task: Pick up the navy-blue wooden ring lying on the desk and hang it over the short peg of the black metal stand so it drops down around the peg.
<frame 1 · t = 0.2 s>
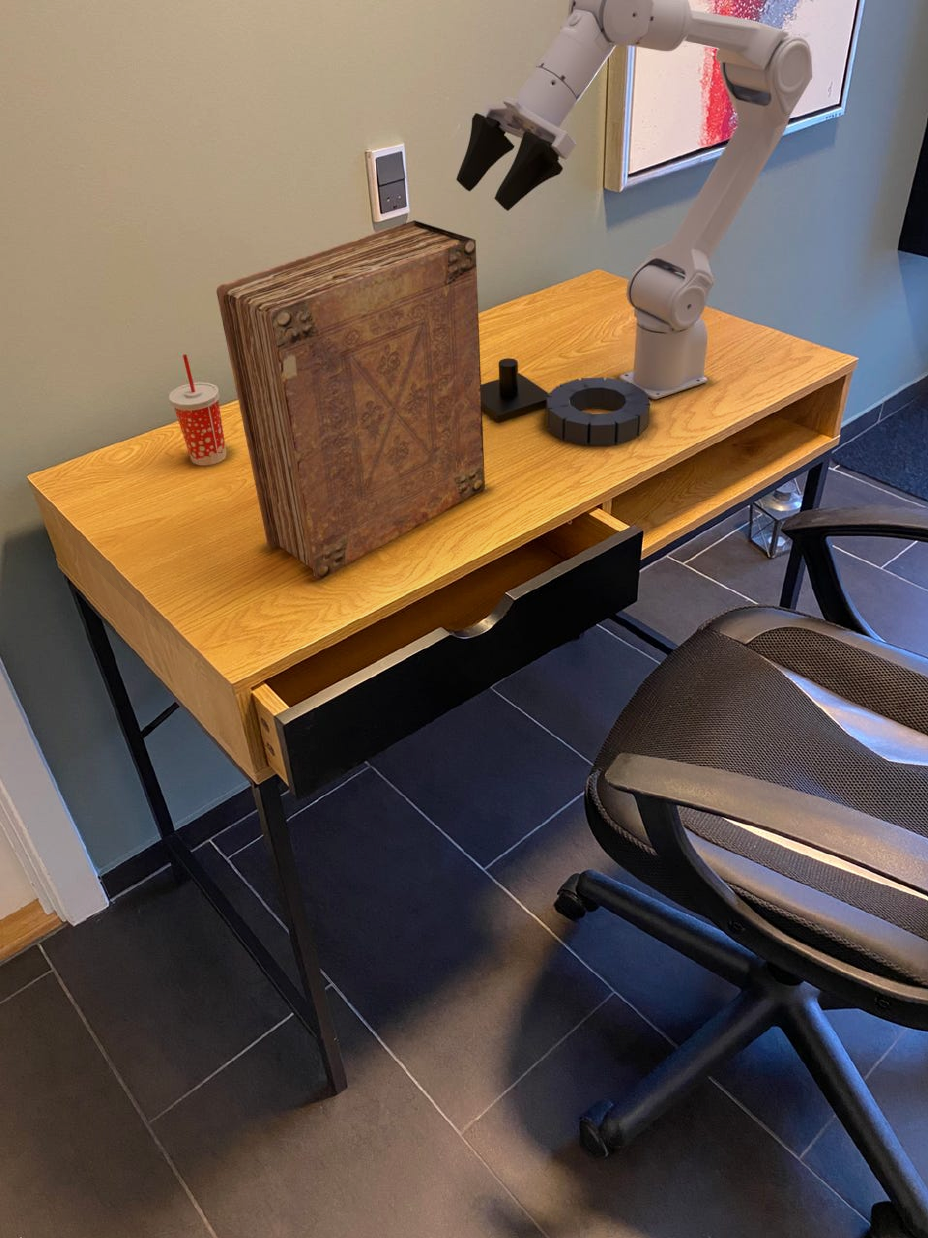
hand: (481, 194, 110), 30 cm above the table, tool tilted 45°, fingers open, 7 cm apart
hoop: (596, 420, 132), on the table
book: (380, 519, 116), on the table
beverage cup: (209, 457, 130), on the table
peg stand: (509, 400, 137), on the table
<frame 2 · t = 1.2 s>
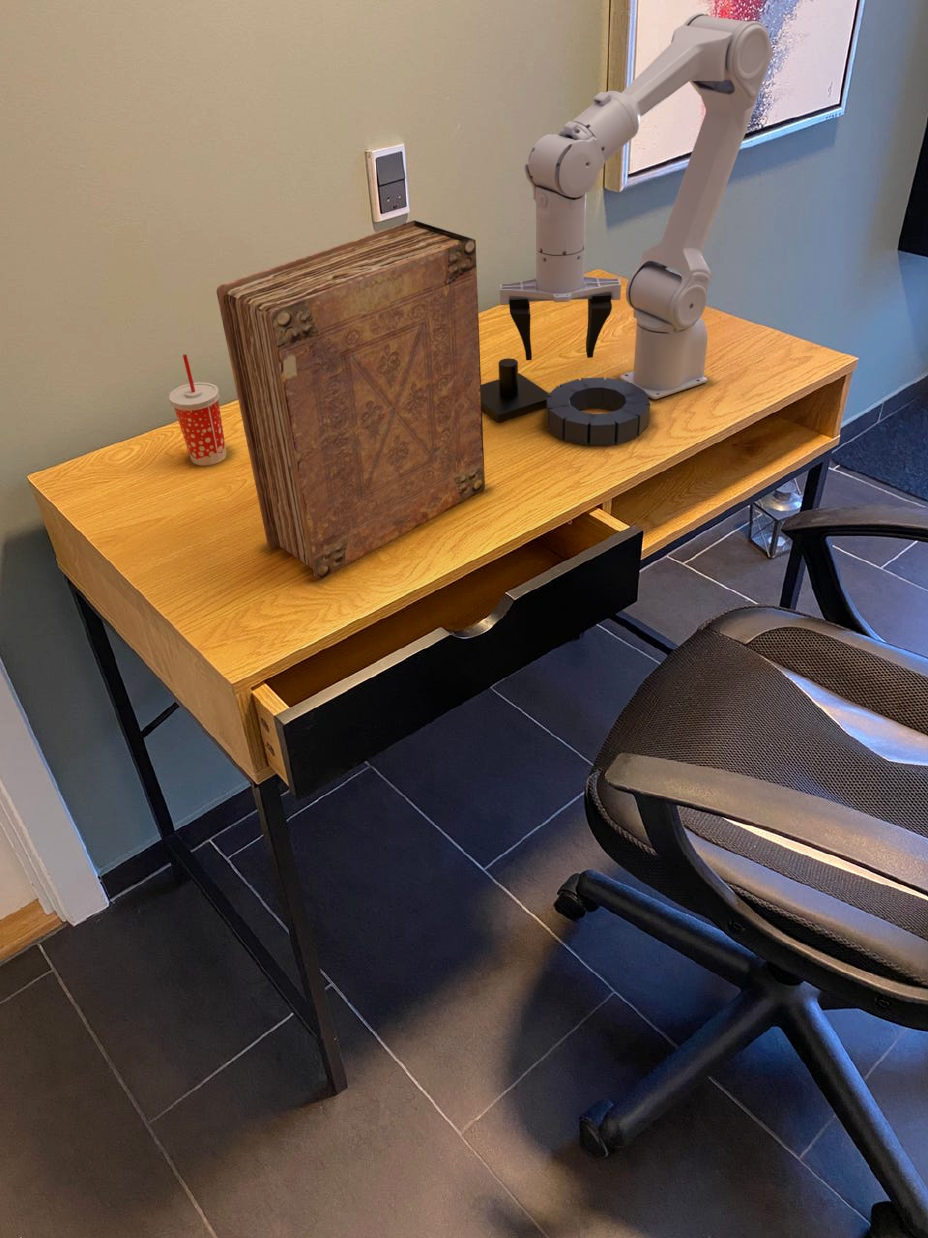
hand: (558, 355, 126), 9 cm above the table, tool pointing down, fingers open, 7 cm apart
nothing on the table moved.
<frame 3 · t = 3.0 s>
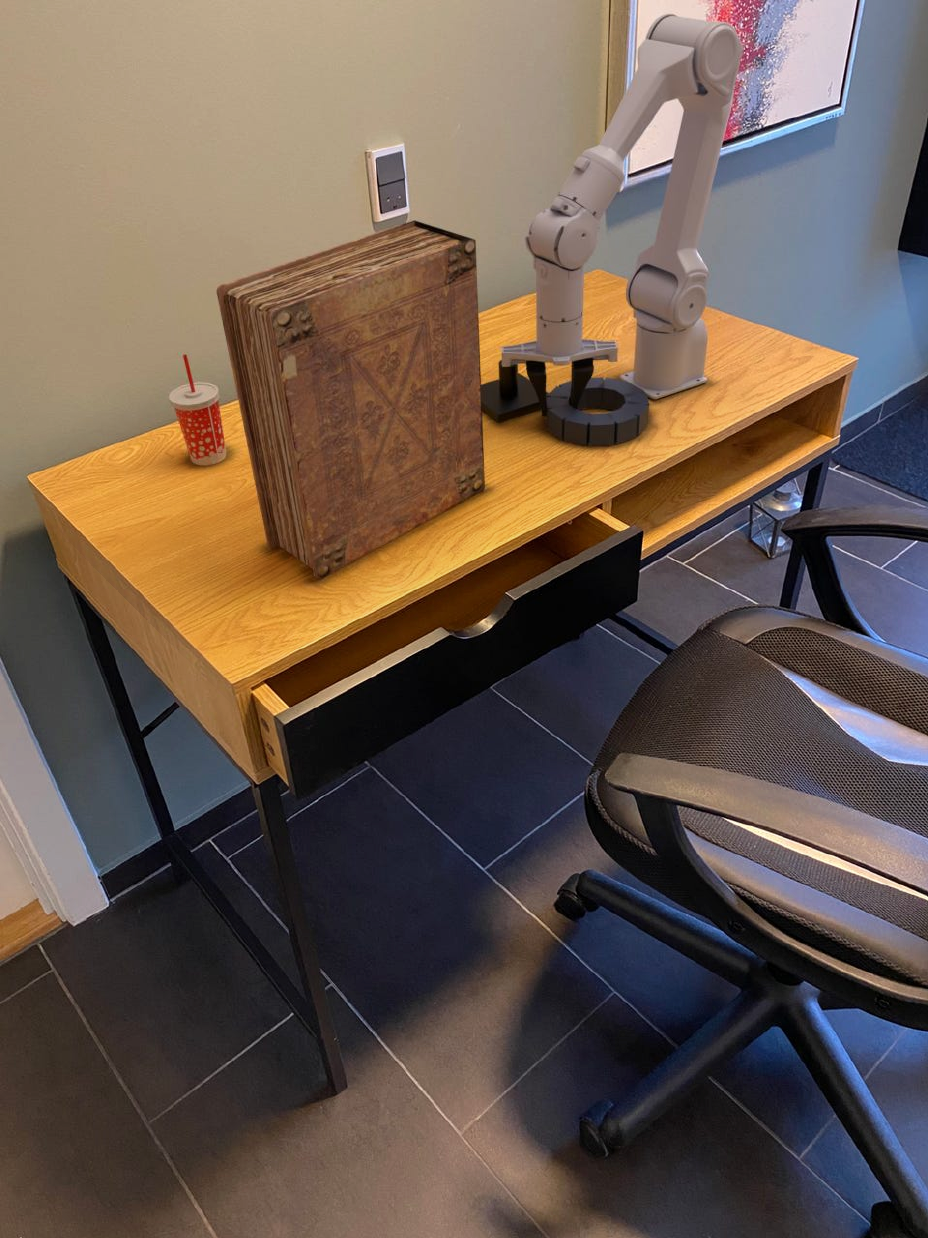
hand: (558, 412, 131), 1 cm above the table, tool pointing down, fingers closed on hoop, 3 cm apart
hoop: (596, 420, 132), on the table, touching gripper
everything else where it was.
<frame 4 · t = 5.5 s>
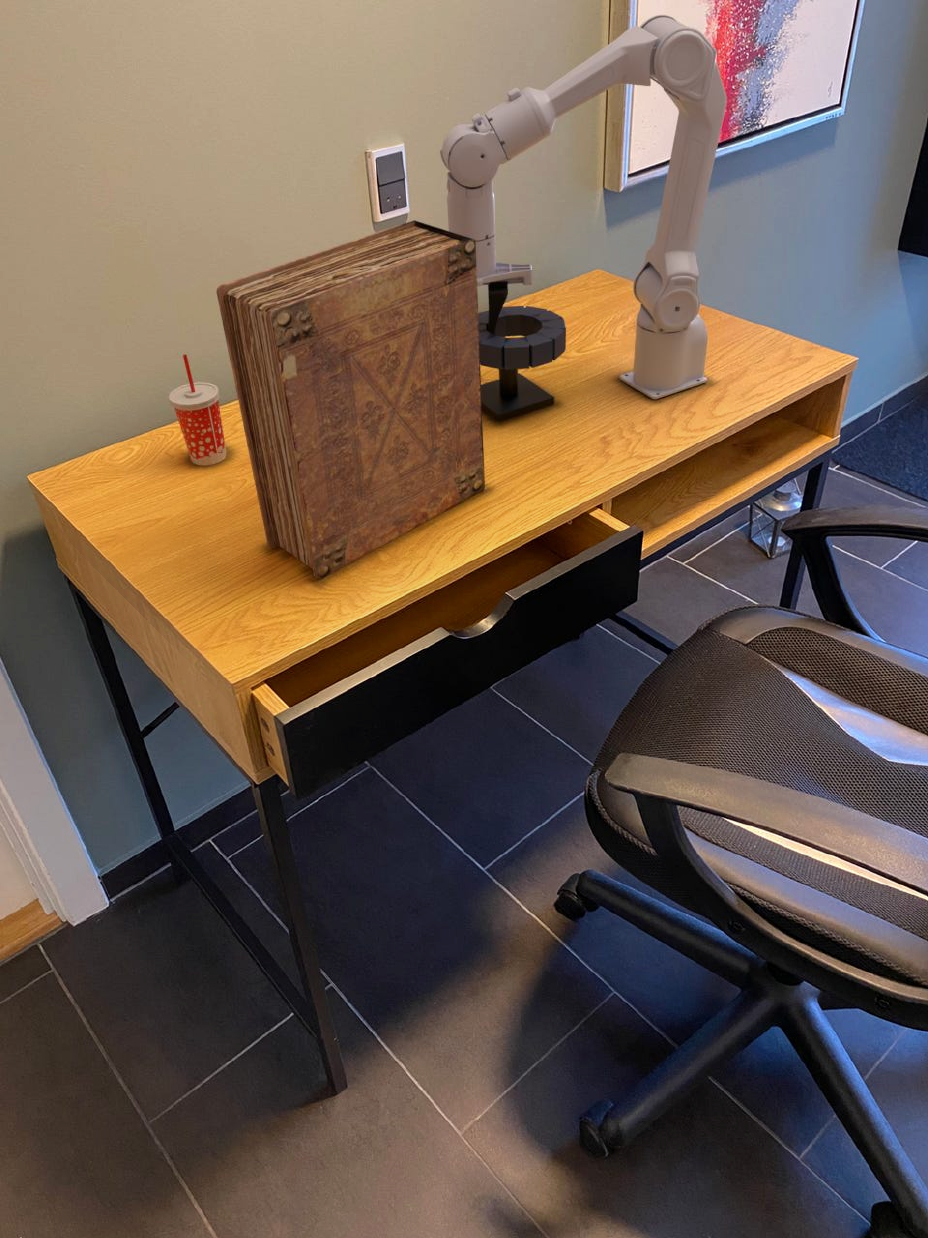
hand: (476, 339, 131), 9 cm above the table, tool pointing down, fingers closed on hoop, 3 cm apart
hoop: (514, 347, 132), point 8 cm above the table, touching gripper
everything else where it was.
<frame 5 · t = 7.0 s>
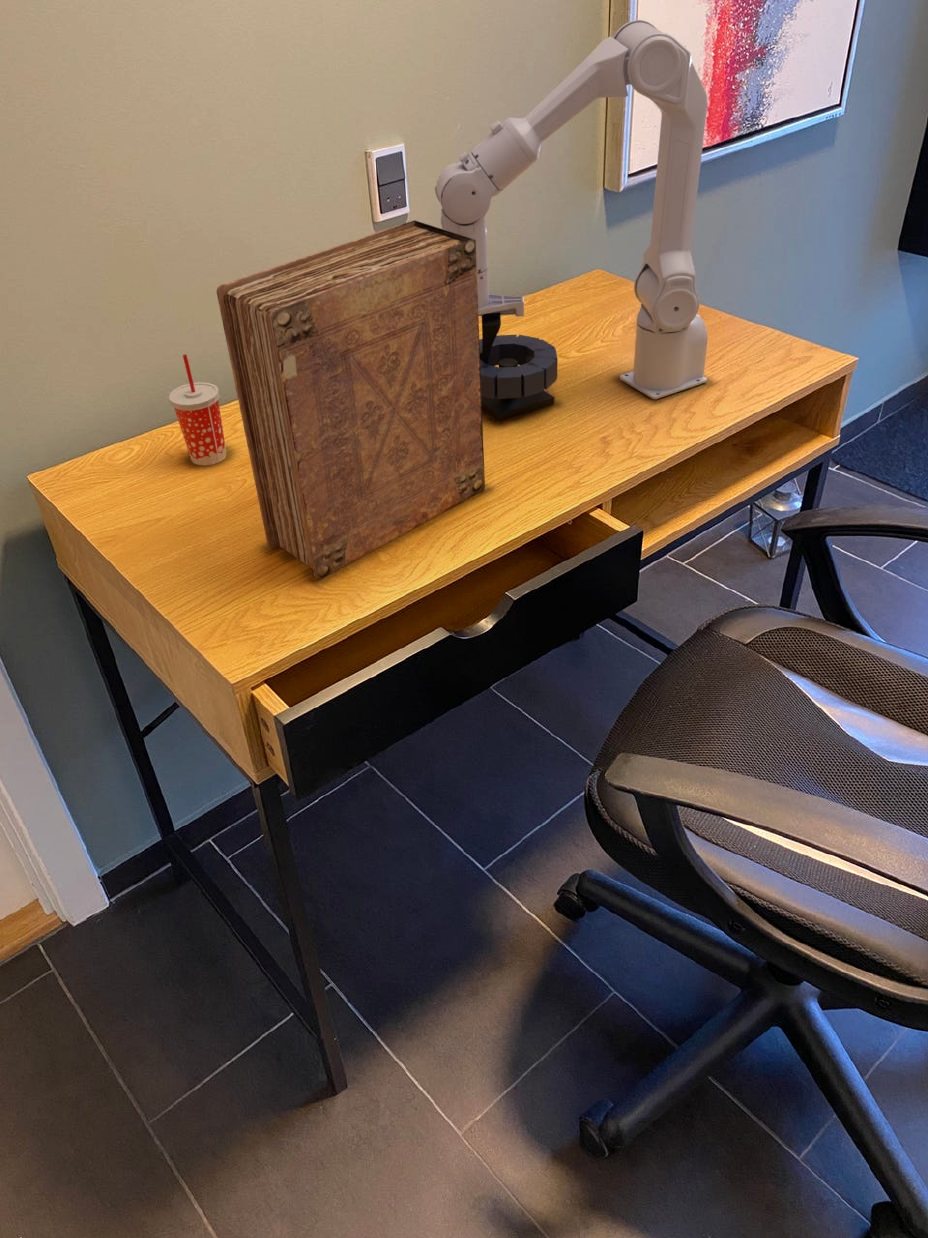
hand: (470, 367, 134), 5 cm above the table, tool pointing down, fingers closed on hoop, 3 cm apart
hoop: (507, 375, 135), point 4 cm above the table, touching gripper
everything else where it was.
when the fingers open (3 cm above the table, at t = 8.0 s): hoop stays where it is, resting on peg stand.
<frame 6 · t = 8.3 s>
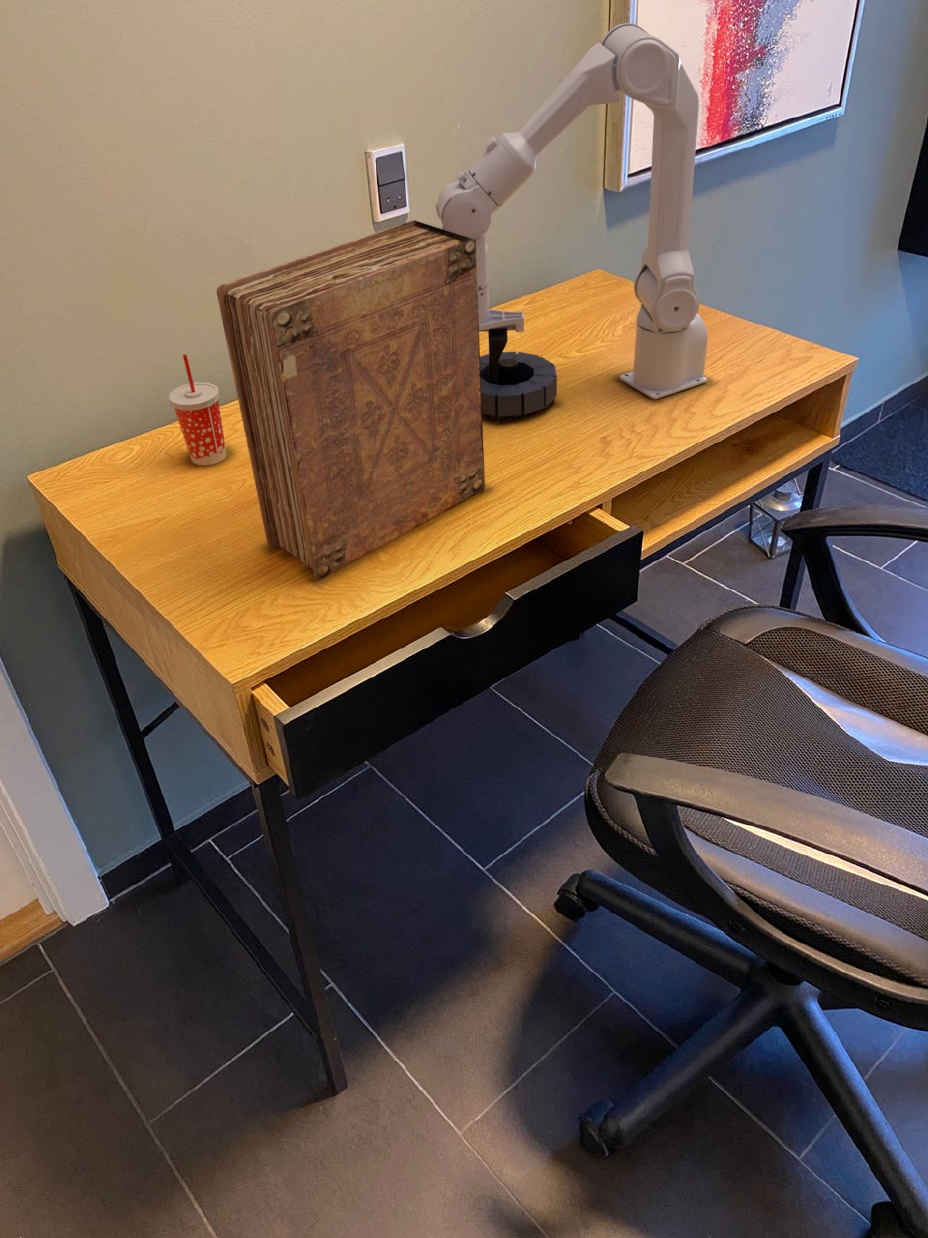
hand: (470, 382, 136), 3 cm above the table, tool pointing down, fingers open, 5 cm apart
hoop: (507, 392, 137), point 1 cm above the table, touching peg stand
everything else where it was.
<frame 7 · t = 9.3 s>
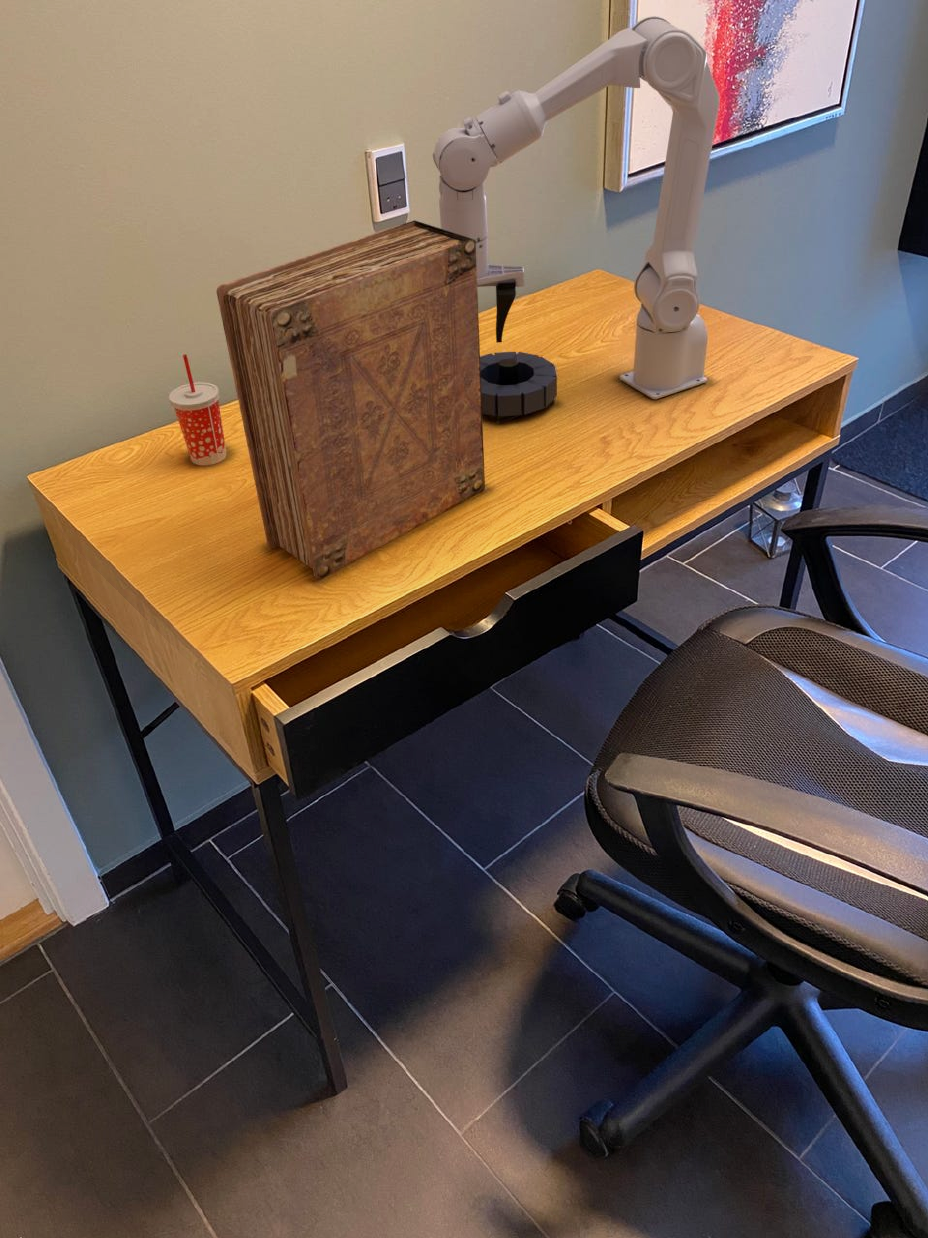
hand: (469, 340, 132), 9 cm above the table, tool pointing down, fingers open, 7 cm apart
nothing on the table moved.
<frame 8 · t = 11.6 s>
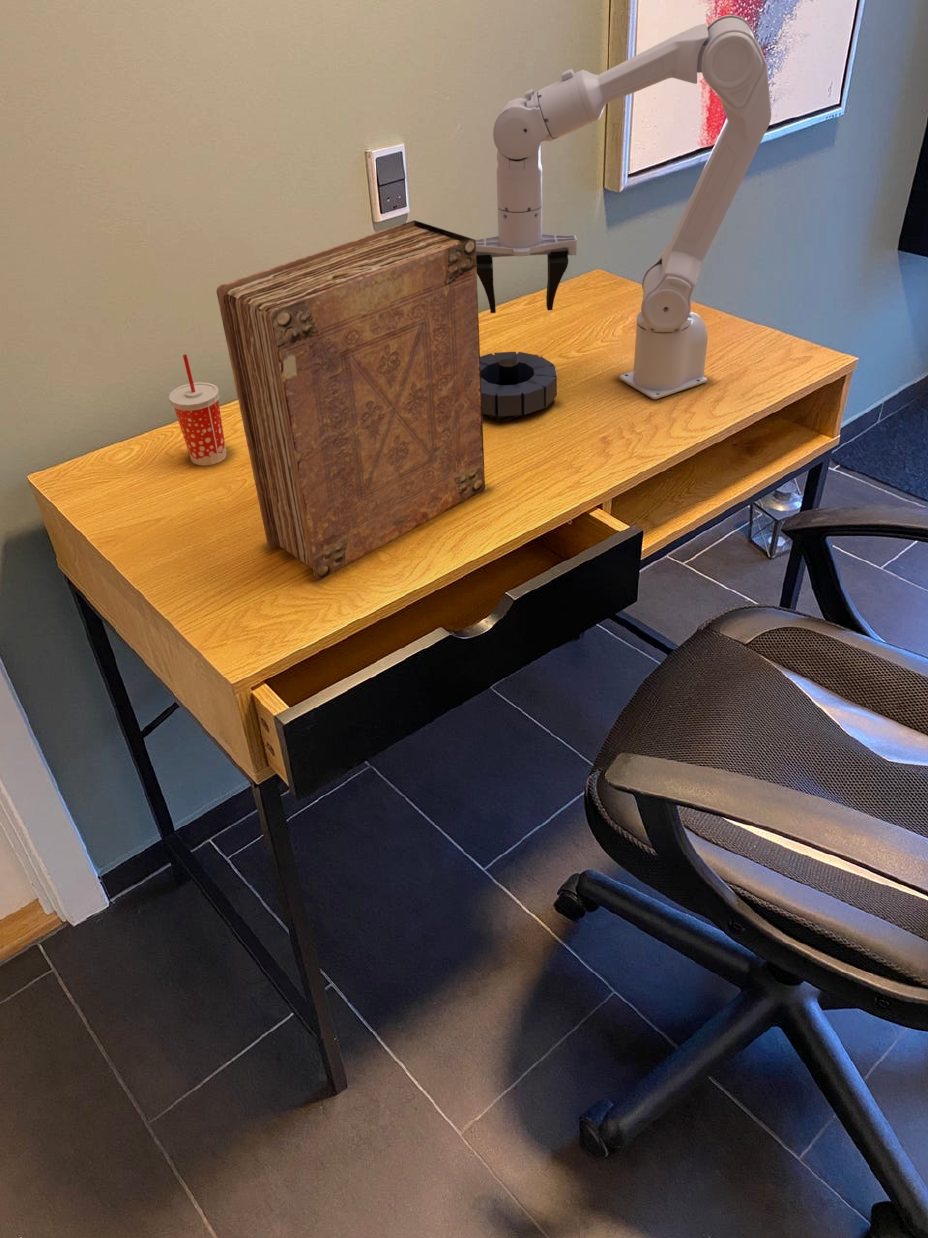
hand: (521, 308, 136), 10 cm above the table, tool pointing down, fingers open, 7 cm apart
nothing on the table moved.
at the end: hoop 0.2 cm from the peg stand (horizontally); hoop point 1.2 cm above the table; hoop tilted 0° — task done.
